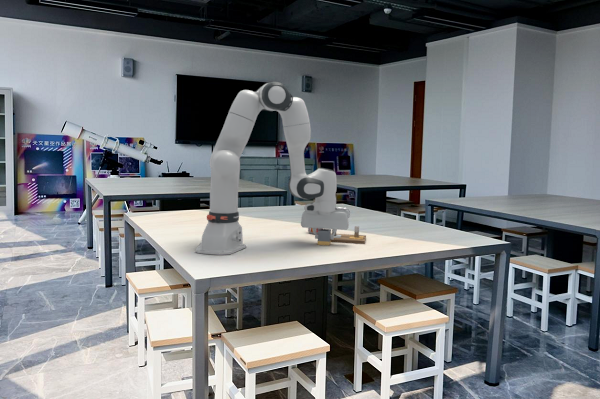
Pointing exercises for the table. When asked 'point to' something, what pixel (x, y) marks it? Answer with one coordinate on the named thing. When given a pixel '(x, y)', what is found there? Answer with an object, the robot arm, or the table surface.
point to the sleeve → (324, 236)
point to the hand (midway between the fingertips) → (324, 238)
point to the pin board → (350, 237)
